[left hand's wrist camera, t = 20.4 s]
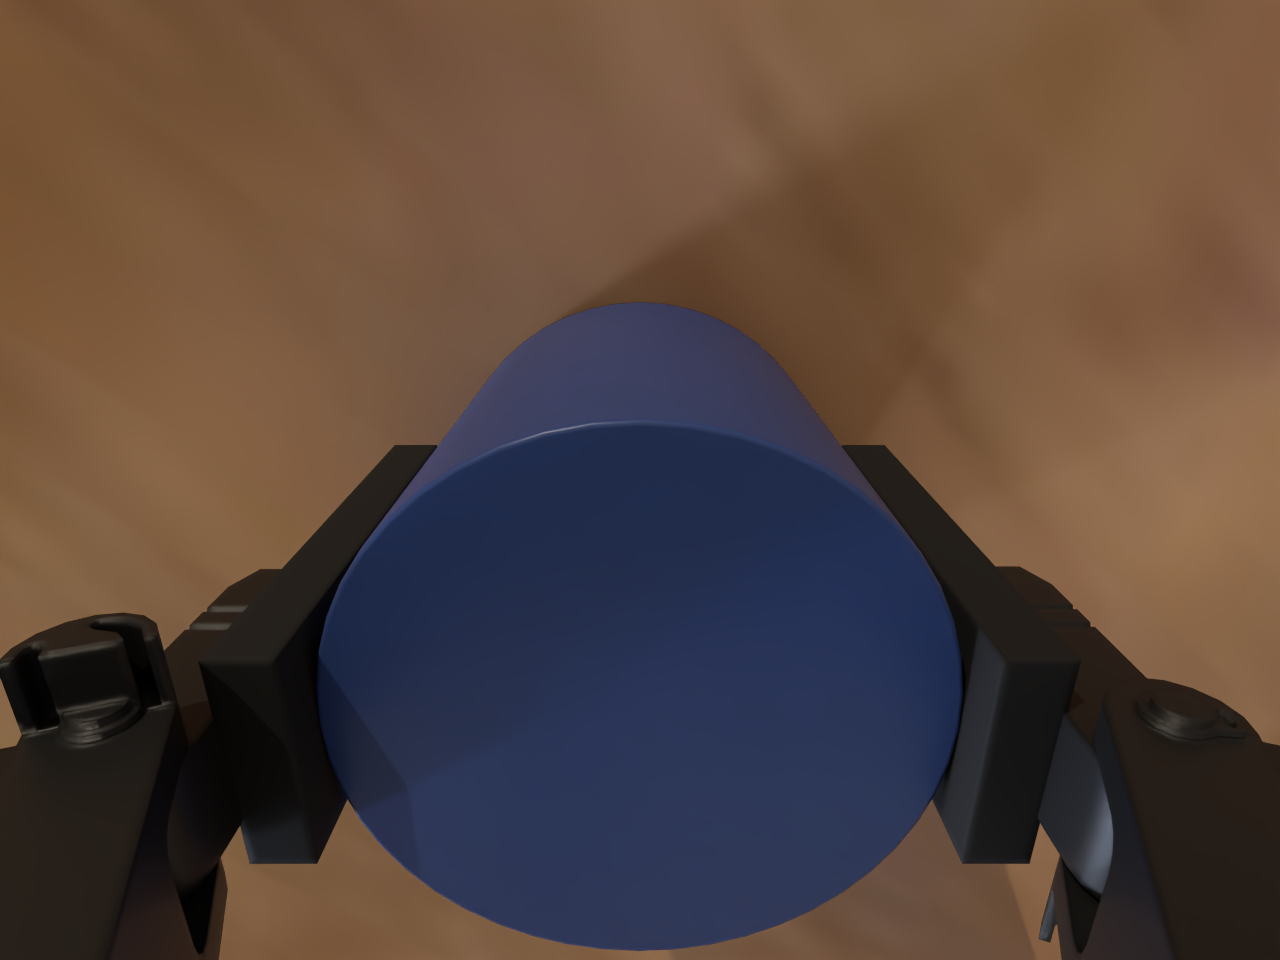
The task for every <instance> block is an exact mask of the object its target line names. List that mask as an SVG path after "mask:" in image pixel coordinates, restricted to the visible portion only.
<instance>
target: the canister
mask: <svg viewBox="0 0 1280 960" xmlns="http://www.w3.org/2000/svg"><path fill="white" fill-rule="evenodd" d="M316 694H317V703H318V713H319V722H320V728H321V732H322V736H323V739H324V743H325V747H326V751H327V754H328V758H329V761H330V763H331V765H332V768H333V770H334V772H335V775H336V777H337V779H338V781H339V784H340V786H341V788H342V791H343V792H344V794H345V795H346V797H347V799H348V800H349V802H350V804H351V805H352V807H353V808H354V810H355V812H356V813H357V815H358V817H359V818H360V820H361V821H362V822H363V823H364V825H365V826H366V827H367V828H368V830H369V831H370V832H371V833H372V834H373V836H374V837H375V838H376V839H377V841H378V842H379V843H380V844H381V845H382V847H383V848H385V849H386V850H387V851H388V852H389V853H390V854H391V855H392V856H393V857H394V858H395V859H396V860H397V861H398V862H399V863H400V864H401V865H402V866H403V867H404V868H405V869H407V870H408V871H409V872H410V873H412V874H413V875H414V876H416V877H417V878H418V879H420V880H421V881H422V882H424V883H425V884H426V885H428V886H429V887H430V888H432V889H433V890H434V891H436V892H437V893H439V894H441V895H442V896H444V897H446V898H448V899H449V900H451V901H453V902H454V903H456V904H458V905H459V906H461V907H463V908H464V909H466V910H468V911H471V912H473V913H475V914H477V915H479V916H481V917H484V918H486V919H488V920H490V921H492V922H495V923H497V924H499V925H502V926H505V927H508V928H511V929H514V930H517V931H520V932H523V933H525V934H528V935H531V936H535V937H539V938H544V939H548V940H552V941H556V942H560V943H565V944H570V945H577V946H584V947H591V948H598V949H611V950H631V951H646V950H670V949H680V948H688V947H695V946H703V945H710V944H714V943H719V942H723V941H727V940H732V939H736V938H740V937H745V936H748V935H751V934H754V933H757V932H760V931H763V930H766V929H769V928H772V927H775V926H778V925H780V924H782V923H785V922H787V921H789V920H791V919H794V918H796V917H798V916H800V915H802V914H805V913H807V912H809V911H811V910H813V909H815V908H817V907H818V906H820V905H822V904H823V903H825V902H827V901H829V900H830V899H832V898H834V897H835V896H837V895H839V894H841V893H842V892H844V891H845V890H846V889H848V888H849V887H850V886H852V885H853V884H854V883H856V882H857V881H858V880H860V879H861V878H863V877H864V876H865V875H867V874H868V873H869V872H871V871H872V870H873V869H874V868H875V867H876V866H877V865H878V864H879V863H880V862H881V861H882V860H883V859H884V858H886V857H887V856H888V855H889V854H890V853H891V852H892V851H893V850H894V849H895V848H896V847H897V846H898V845H899V843H900V842H901V841H902V840H903V839H904V837H905V836H906V835H907V834H908V833H909V831H910V830H911V829H912V828H913V827H914V825H915V824H916V823H917V822H918V820H919V819H920V817H921V815H922V814H923V812H924V811H925V809H926V807H927V806H928V804H929V803H930V801H931V799H932V798H933V796H934V795H935V793H936V791H937V789H938V787H939V784H940V782H941V780H942V778H943V775H944V773H945V771H946V769H947V767H948V764H949V762H950V759H951V755H952V752H953V748H954V745H955V741H956V737H957V734H958V730H959V724H960V716H961V707H962V699H963V677H962V656H961V651H960V646H959V641H958V637H957V632H956V627H955V622H954V619H953V616H952V614H951V611H950V609H949V606H948V603H947V601H946V598H945V596H944V593H943V591H942V588H941V585H940V584H939V582H938V580H937V579H936V577H935V575H934V573H933V572H932V570H931V568H930V567H929V565H928V563H927V562H926V560H925V558H924V556H923V555H922V553H921V551H920V550H919V549H918V547H917V546H916V545H915V543H914V542H913V541H912V539H911V538H910V537H909V535H908V534H907V533H906V531H905V530H904V529H903V527H902V526H901V525H900V523H899V522H898V521H897V519H896V518H895V517H894V515H893V514H892V513H891V511H890V510H889V509H888V507H887V506H886V505H885V503H884V502H883V501H882V499H881V498H880V497H879V495H878V494H877V493H876V492H875V490H874V489H873V488H872V486H871V485H870V484H869V482H868V481H867V480H866V478H865V477H864V476H863V474H862V473H861V472H860V470H859V469H858V468H857V466H856V465H855V464H854V462H853V461H852V460H851V458H850V457H849V456H848V454H847V453H846V452H845V450H844V449H843V448H842V446H841V445H840V444H839V442H838V441H837V440H836V438H835V437H834V436H833V434H832V433H831V432H830V430H829V429H828V428H827V426H826V425H825V424H824V422H823V421H822V420H821V418H820V417H819V416H818V414H817V413H816V412H815V410H814V409H813V408H812V406H811V405H810V404H809V402H808V401H807V400H806V398H805V397H804V396H803V394H802V393H801V392H800V390H799V389H798V388H797V386H796V385H795V384H794V382H793V381H792V380H791V378H790V377H789V376H788V375H787V374H786V372H785V371H784V370H783V369H782V367H781V366H780V365H779V364H778V362H777V361H776V360H775V359H774V358H773V357H772V356H771V355H770V354H769V353H767V352H766V351H765V350H764V349H763V348H762V347H761V346H760V345H759V344H758V343H756V342H755V341H754V340H752V339H751V338H749V337H748V336H746V335H745V334H744V333H742V332H741V331H739V330H738V329H736V328H734V327H732V326H730V325H728V324H726V323H724V322H722V321H720V320H718V319H716V318H714V317H711V316H708V315H706V314H703V313H700V312H697V311H694V310H691V309H687V308H682V307H677V306H672V305H667V304H656V303H642V302H640V303H624V304H613V305H608V306H603V307H598V308H592V309H589V310H586V311H583V312H580V313H577V314H574V315H571V316H568V317H565V318H563V319H561V320H559V321H557V322H555V323H553V324H551V325H549V326H547V327H545V328H543V329H542V330H541V331H539V332H538V333H536V334H535V335H533V336H532V337H530V338H529V339H527V340H526V341H524V342H523V343H522V344H521V345H520V346H519V347H518V348H517V349H515V350H514V351H513V352H512V353H511V354H510V355H509V356H508V357H507V358H506V359H505V360H504V361H503V362H502V363H501V365H500V366H499V367H498V368H497V369H496V371H495V372H494V373H493V374H492V375H491V377H490V378H489V379H488V380H487V382H486V383H485V384H484V386H483V387H482V388H481V390H480V391H479V392H478V394H477V395H476V396H475V398H474V399H473V400H472V402H471V403H470V404H469V406H468V407H467V408H466V410H465V411H464V412H463V414H462V415H461V416H460V418H459V419H458V420H457V422H456V423H455V424H454V426H453V427H452V428H451V430H450V431H449V432H448V434H447V435H446V436H445V438H444V439H443V440H442V442H441V443H440V444H439V445H438V447H437V448H436V449H435V451H434V452H433V453H432V455H431V456H430V457H429V459H428V460H427V461H426V463H425V464H424V465H423V467H422V468H421V469H420V471H419V472H418V473H417V475H416V476H415V477H414V479H413V480H412V481H411V483H410V484H409V485H408V487H407V488H406V489H405V491H404V492H403V493H402V495H401V496H400V497H399V499H398V500H397V501H396V503H395V504H394V505H393V507H392V508H391V509H390V510H389V512H388V513H387V514H386V516H385V517H384V518H383V520H382V521H381V522H380V524H379V525H378V526H377V528H376V529H375V530H374V532H373V533H372V534H371V536H370V537H369V538H368V540H367V541H366V542H365V544H364V545H363V546H362V548H361V549H360V551H359V552H358V554H357V556H356V557H355V559H354V561H353V562H352V564H351V566H350V567H349V569H348V571H347V572H346V574H345V575H344V577H343V579H342V580H341V582H340V584H339V587H338V589H337V592H336V594H335V597H334V599H333V602H332V604H331V607H330V609H329V612H328V614H327V617H326V620H325V625H324V629H323V634H322V638H321V643H320V647H319V652H318V665H317V682H316Z"/></svg>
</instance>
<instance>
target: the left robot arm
mask: <svg viewBox="0 0 1280 960" xmlns="http://www.w3.org/2000/svg"><path fill="white" fill-rule="evenodd" d="M436 448H437V445H395V446H394V447H393V448H392V449H391V450H390V451H389V452H388V453H387V455H386V456H385V457H384V458H383V459H382V460H381V461H380V462H379V463H378V464H377V465H376V467H375V468H374V469H373V470H372V471H371V472H370V473H369V474H368V475H367V476H366V477H365V479H364V480H363V481H362V482H361V483H360V484H359V485H358V486H357V487H356V488H355V490H354V491H353V492H352V493H351V494H350V495H349V496H348V497H347V498H346V499H345V500H344V502H343V503H342V504H341V505H340V506H339V507H338V508H337V509H336V510H335V511H334V513H333V514H332V515H331V516H330V517H329V518H328V519H327V520H326V521H325V522H324V523H323V525H322V526H321V527H320V528H319V529H318V530H317V531H316V532H315V533H314V534H313V535H312V537H311V538H310V539H309V540H308V541H307V542H306V543H305V544H304V545H303V546H302V548H301V549H300V550H299V551H298V552H297V553H296V554H295V555H294V556H293V557H292V558H291V560H290V561H289V562H288V563H287V564H286V565H285V566H284V567H283V568H282V569H260V570H258V571H256V572H254V573H253V574H251V575H249V576H247V577H245V578H244V579H242V580H240V581H238V582H236V583H235V584H233V585H231V586H229V587H228V588H227V589H226V590H225V591H224V592H223V593H222V594H221V595H220V596H219V597H218V598H217V599H216V600H215V601H214V602H213V603H212V604H211V605H210V606H209V607H208V608H207V612H203V613H202V614H201V615H200V616H199V617H198V618H197V619H196V620H195V621H194V622H193V623H192V624H191V625H190V629H189V630H185V631H184V632H183V633H182V634H181V635H180V636H179V637H178V638H177V639H176V640H175V641H174V642H173V643H172V644H171V645H170V646H169V647H168V648H167V649H166V650H165V651H164V649H163V646H162V642H161V638H160V635H159V631H158V628H157V624H156V623H155V622H154V621H152V620H151V619H149V618H147V617H146V616H144V615H137V614H130V613H114V614H102V615H94V616H90V617H86V618H82V619H78V620H73V621H69V622H65V623H63V624H60V625H58V626H55V627H53V628H50V629H47V630H45V631H42V632H40V633H37V634H35V635H33V636H32V637H30V638H28V639H27V640H25V641H23V642H21V643H20V644H18V645H16V646H15V647H13V648H11V649H10V650H9V651H8V652H7V653H6V654H5V655H4V656H3V657H2V658H1V659H0V678H1V681H2V683H3V686H4V689H5V691H6V694H7V697H8V699H9V702H10V705H11V707H12V710H13V713H14V715H15V718H16V721H17V723H18V726H19V729H20V731H21V734H22V736H21V738H20V740H19V742H18V743H17V745H16V746H14V747H9V748H4V749H0V960H218V959H219V952H220V944H221V936H222V929H223V921H224V913H225V906H226V898H227V890H228V889H227V883H226V876H225V872H224V868H223V864H222V861H221V856H222V854H223V852H224V851H225V849H226V847H227V846H228V844H229V843H230V841H231V839H232V838H233V836H234V834H235V833H236V831H237V830H238V828H239V826H240V827H241V830H242V834H243V838H244V842H245V846H246V850H247V854H248V858H249V862H250V864H317V863H318V861H319V858H320V856H321V854H322V852H323V850H324V848H325V846H326V844H327V841H328V839H329V837H330V835H331V833H332V831H333V829H334V827H335V824H336V822H337V820H338V818H339V816H340V814H341V812H342V810H343V807H344V805H345V803H346V801H347V797H346V795H345V794H344V792H343V791H342V788H341V786H340V784H339V781H338V779H337V777H336V775H335V772H334V770H333V768H332V765H331V763H330V761H329V758H328V754H327V751H326V747H325V743H324V739H323V736H322V732H321V728H320V722H319V713H318V703H317V694H316V682H317V665H318V652H319V647H320V643H321V638H322V634H323V629H324V625H325V620H326V617H327V614H328V612H329V609H330V607H331V604H332V602H333V599H334V597H335V594H336V592H337V589H338V587H339V584H340V582H341V580H342V579H343V577H344V575H345V574H346V572H347V571H348V569H349V567H350V566H351V564H352V562H353V561H354V559H355V557H356V556H357V554H358V552H359V551H360V549H361V548H362V546H363V545H364V544H365V542H366V541H367V540H368V538H369V537H370V536H371V534H372V533H373V532H374V530H375V529H376V528H377V526H378V525H379V524H380V522H381V521H382V520H383V518H384V517H385V516H386V514H387V513H388V512H389V510H390V509H391V508H392V507H393V505H394V504H395V503H396V501H397V500H398V499H399V497H400V496H401V495H402V493H403V492H404V491H405V489H406V488H407V487H408V485H409V484H410V483H411V481H412V480H413V479H414V477H415V476H416V475H417V473H418V472H419V471H420V469H421V468H422V467H423V465H424V464H425V463H426V461H427V460H428V459H429V457H430V456H431V455H432V453H433V452H434V451H435V449H436ZM842 448H843V449H844V450H845V452H846V453H847V454H848V456H849V457H850V458H851V460H852V461H853V462H854V464H855V465H856V466H857V468H858V469H859V470H860V472H861V473H862V474H863V476H864V477H865V478H866V480H867V481H868V482H869V484H870V485H871V486H872V488H873V489H874V490H875V492H876V493H877V494H878V495H879V497H880V498H881V499H882V501H883V502H884V503H885V505H886V506H887V507H888V509H889V510H890V511H891V513H892V514H893V515H894V517H895V518H896V519H897V521H898V522H899V523H900V525H901V526H902V527H903V529H904V530H905V531H906V533H907V534H908V535H909V537H910V538H911V539H912V541H913V542H914V543H915V545H916V546H917V547H918V549H919V550H920V551H921V553H922V555H923V556H924V558H925V560H926V562H927V563H928V565H929V567H930V568H931V570H932V572H933V573H934V575H935V577H936V579H937V580H938V582H939V584H940V585H941V588H942V591H943V593H944V596H945V598H946V601H947V603H948V606H949V609H950V611H951V614H952V616H953V619H954V622H955V627H956V632H957V637H958V641H959V646H960V651H961V656H962V677H963V699H962V707H961V716H960V724H959V730H958V734H957V737H956V741H955V745H954V748H953V752H952V755H951V759H950V762H949V764H948V767H947V769H946V771H945V773H944V775H943V778H942V780H941V782H940V784H939V787H938V789H937V791H936V793H935V795H934V796H933V798H932V800H933V802H934V804H935V806H936V808H937V811H938V813H939V815H940V817H941V819H942V821H943V823H944V826H945V828H946V830H947V832H948V834H949V836H950V838H951V840H952V843H953V845H954V847H955V849H956V851H957V853H958V855H959V857H960V860H961V862H962V864H1029V863H1030V859H1031V856H1032V852H1033V848H1034V844H1035V840H1036V836H1037V832H1038V828H1039V824H1040V823H1041V825H1042V826H1043V828H1044V830H1045V831H1046V833H1047V835H1048V836H1049V838H1050V839H1051V841H1052V843H1053V844H1054V846H1055V847H1056V849H1057V851H1058V852H1059V854H1060V857H1059V861H1058V864H1057V868H1056V872H1055V875H1054V879H1053V882H1052V886H1051V890H1050V893H1049V897H1048V901H1047V904H1046V908H1045V912H1044V915H1043V919H1042V922H1041V929H1040V935H1039V939H1040V940H1043V941H1047V942H1050V941H1051V937H1052V934H1053V930H1054V927H1055V925H1057V926H1058V934H1059V942H1060V949H1061V957H1062V960H1280V746H1279V745H1274V744H1269V743H1265V742H1262V740H1261V738H1260V736H1259V734H1258V733H1257V732H1256V731H1255V730H1254V728H1253V727H1252V726H1251V725H1250V724H1249V723H1248V721H1247V720H1246V719H1245V718H1244V717H1243V716H1242V715H1240V714H1239V713H1237V712H1236V711H1234V710H1233V709H1231V708H1230V707H1229V706H1227V705H1226V704H1224V703H1223V702H1221V701H1219V700H1217V699H1215V698H1213V697H1211V696H1209V695H1206V694H1204V693H1202V692H1200V691H1198V690H1195V689H1193V688H1190V687H1186V686H1183V685H1179V684H1176V683H1172V682H1168V681H1165V680H1157V679H1147V678H1146V677H1145V676H1144V675H1143V674H1142V673H1141V672H1140V671H1139V670H1138V669H1137V668H1136V667H1135V666H1134V665H1133V664H1132V663H1131V662H1130V661H1129V660H1128V659H1127V658H1126V657H1125V656H1124V655H1123V654H1122V653H1121V652H1120V651H1119V650H1118V649H1117V648H1116V647H1115V646H1114V645H1113V644H1112V643H1111V642H1110V641H1109V640H1108V639H1107V638H1105V637H1104V636H1103V635H1102V634H1101V633H1100V632H1099V631H1098V630H1097V629H1096V628H1095V627H1091V626H1090V622H1089V621H1088V620H1087V619H1086V618H1085V617H1084V616H1083V615H1082V614H1081V613H1080V612H1079V611H1078V610H1077V609H1073V605H1072V604H1071V603H1070V602H1069V601H1068V600H1067V599H1066V598H1065V597H1064V596H1063V595H1062V594H1061V593H1060V592H1059V591H1058V590H1057V589H1056V588H1055V587H1054V586H1053V585H1052V584H1050V583H1048V582H1047V581H1045V580H1043V579H1041V578H1039V577H1037V576H1036V575H1034V574H1032V573H1030V572H1028V571H1027V570H1025V569H1023V568H1021V567H995V566H994V565H993V563H992V562H991V561H990V560H989V559H988V558H987V557H986V556H985V555H984V554H983V553H982V551H981V550H980V549H979V548H978V547H977V546H976V545H975V544H974V543H973V542H972V540H971V539H970V538H969V537H968V536H967V535H966V534H965V533H964V532H963V531H962V530H961V528H960V527H959V526H958V525H957V524H956V523H955V522H954V521H953V520H952V519H951V517H950V516H949V515H948V514H947V513H946V512H945V511H944V510H943V509H942V508H941V507H940V505H939V504H938V503H937V502H936V501H935V500H934V499H933V498H932V497H931V496H930V495H929V493H928V492H927V491H926V490H925V489H924V488H923V487H922V486H921V485H920V484H919V482H918V481H917V480H916V479H915V478H914V477H913V476H912V475H911V474H910V473H909V472H908V470H907V469H906V468H905V467H904V466H903V465H902V464H901V463H900V462H899V461H898V459H897V458H896V457H895V456H894V455H893V454H892V453H891V452H890V451H889V450H888V449H887V447H886V446H885V445H842Z"/></svg>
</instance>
